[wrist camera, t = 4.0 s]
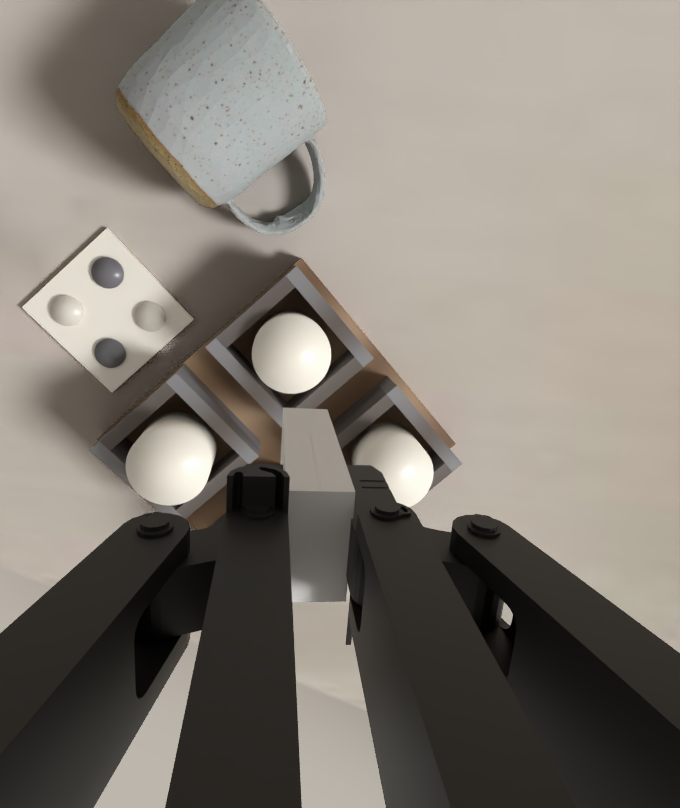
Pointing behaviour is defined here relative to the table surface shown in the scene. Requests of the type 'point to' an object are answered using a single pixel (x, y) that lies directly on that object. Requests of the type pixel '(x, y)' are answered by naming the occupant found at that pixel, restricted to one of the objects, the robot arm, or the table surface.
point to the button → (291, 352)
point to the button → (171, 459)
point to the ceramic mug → (226, 105)
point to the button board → (275, 396)
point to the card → (108, 311)
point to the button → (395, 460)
